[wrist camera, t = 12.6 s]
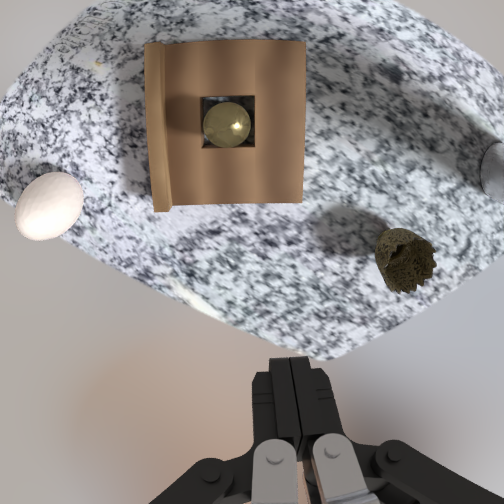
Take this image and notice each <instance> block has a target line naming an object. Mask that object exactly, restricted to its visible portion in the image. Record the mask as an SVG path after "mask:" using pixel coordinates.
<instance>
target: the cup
mask: <svg viewBox="0 0 504 504" xmlns="http://www.w3.org/2000/svg"><path fill="white" fill-rule="evenodd" d="M433 253H436V250H435V249H434V248H433V247H432V244H431V243H430V242H428V241H426V240H425V239H423V238H422V237H420V236H418V235H417V234H415V233H413V232H412V231H409V230H407V229H403V228H394V229H391V230H390V229H389V230H385V231H383V232H381V233H380V235H379V236H378V238H377V242H376V248H375V260H376V263H377V266H378V268H379V270H380V273H381V275H382V277H383V279H384V281H385V283H386V285H387V286H388V288H389V289H390V291H391V292H394V291H395V290H396V292H397V293H398V294H401V290H402V291H403V292H406V293H408V294H409V293H410V290H411V291H414V292H415V291H416V289H417V284H419V285H420V286H422V287H423V285H424V280H425V279H430V278H432V275H433V268H435V267H436V266H437V264H436V262H435V261H434V259H433V256H434V255H433Z"/></svg>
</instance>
